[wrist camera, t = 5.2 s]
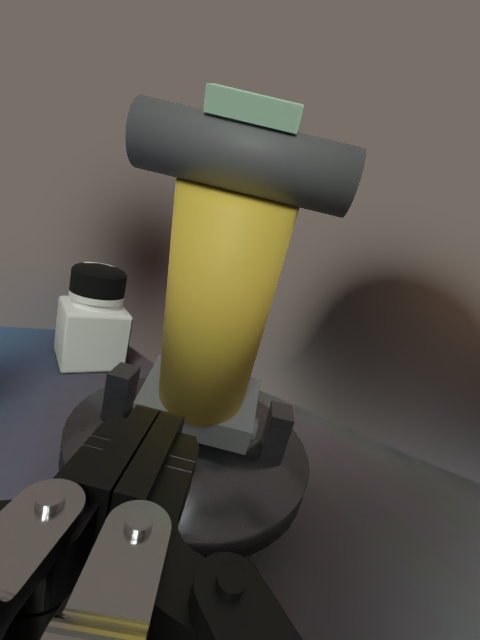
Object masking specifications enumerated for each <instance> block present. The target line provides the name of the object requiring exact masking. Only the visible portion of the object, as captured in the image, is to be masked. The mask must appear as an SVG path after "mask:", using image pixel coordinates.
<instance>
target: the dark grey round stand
mask: <svg viewBox="0 0 480 640" xmlns="http://www.w3.org/2000/svg"><path fill="white" fill-rule="evenodd" d="M140 368H141V367H139V366H135V365H131V364H127V363H123V362H120V363H119V364H118V365H117V366H115V367H114V368H113V369H112V370H111V371H110V372H109V373H108V374H107V377H106V383H105V388H103V389H101V390H99V391H97V392H95V393H93V394H92V395H90V396H88V397H87V398H86V399H85V400H83V401H82V402H81V403H80V404H79V405H78V406H77V407H76V408H75V409H74V410H73V411H72V413H71V414H70V416H69V417H68V419H67V421H66V424H65V426H64V429H63V435H62V443H61V451H60V460H59V471H60V470H61V469H62V468H63V467H64V465H65V464H66V463H67V462H68V461H69V460H70V458H71V457H72V456H73V455H74V454H75V453H76V452H77V450H78V449H79V448H80V447H81V446H83V444H84V442H85V441H86V440H87V439H88V438H89V437H90V436H91V435H92V433H93V432H94V431H95V430H96V429H97V427H98V426H99V425H100V424H101V423H103V422H105V421H107V420H109V419H111V418H112V417H114V416H118V417H121V418H125V419H126V418H127V417H128V416H129V414H130V413H131V412H132V410H133V402H134V401H135V399H136V397H137V395H138V393H139V391H140V390H141V388H142V386H143V384H144V382H145V380H146V378H139V374H140ZM255 417H256V418H259V421H258V427H257V432H256V436H255V439H254V442H249V445H248V448H247V451H246V454H245V455H243V454H239V453H235V452H231V451H227V450H223V449H220V448H216V447H212V446H208V445H204V444H200V443H198V445H199V453H198V457H197V461H196V465H195V470H194V474H193V478H192V482H191V487H190V491H189V494H188V497H187V500H186V504H185V507H184V510H183V513H182V516H181V520H180V523H179V527H178V529H179V532H180V534H181V536H182V538H183V540H184V541H185V542H186V543H187V544H188V545H189V546H190V547H191V548H192V549H193V550H195V551H196V552H198V553H199V554H201V555H202V556H204V557H205V558H206V557H207V556H209V555H211V554H214V553H217V552H232V553H235V554H238V555H241V556H242V557H245V556H248V555H251V554H254V553H256V552H257V551H259V550H261V549H263V548H265V547H267V546H269V545H270V544H271V543H273V542H274V541H275V540H277V539H278V538H279V537H280V536H281V535H282V534H283V533H284V532H285V531H286V530H287V529H288V528H289V527H290V525H291V523H292V522H293V520H294V519H295V517H296V515H297V512H298V509H299V507H300V504H301V501H302V498H303V495H304V492H305V489H306V486H307V483H308V478H309V462H308V458H307V454H306V451H305V449H304V447H303V444H302V442H301V441H300V439H299V438H298V436H297V434H296V433H295V432H294V431H293V429H292V428H293V424H294V416H293V409H292V405H288V404H284V403H280V402H276V401H271V405H270V408H268V407H266V406H265V405H263V404H262V403H260V402H258V401H257V408H256V414H255Z"/></svg>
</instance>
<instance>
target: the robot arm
mask: <svg viewBox="0 0 480 640" xmlns="http://www.w3.org/2000/svg"><path fill="white" fill-rule="evenodd" d="M184 419H185V416H182V415H178V414H174V413H170V412H166V411H161V410H158V409H154V408H150V407H146V406H142V405H136V406H135V408H134V409H133V410H132V412H131V413H130V414H129V416H128V417H127V418H126V419H125V418H121V417H118V416H114V417H112V418H111V419H109V420H107V421H105V422H103V423H101V424H100V425H99V426H98V427H97V429H96V430H95V431H94V432H93V433H92V435H91V436H90V437H89V438H88V439H87V440H86V441H85V442H84V444H83V446H81V447H80V448H79V449H78V450H77V452H76V453H75V454H74V455H73V456H72V457H71V458H70V460H69V461H68V462H67V463H66V464H65V465H64V467H63V468H62V469H61V470H60V471H59V472H58V473H57V475H56V476H55V477H54V478H53V479H47V480H43V481H40V482H37V483H34V484H32V485H30V486H29V487H27V488H25V489H24V490H23V491H22V492H20V493H19V494H18V495H17V496H16V497H15V498H14V499H13V500H3V501H0V640H302V638H301V637H300V635H299V634H298V632H297V631H296V629H295V627H294V626H293V624H292V623H291V621H290V620H289V618H288V617H287V615H286V613H285V612H284V610H283V609H282V607H281V606H280V604H279V603H278V601H277V599H276V598H275V596H274V595H273V593H272V592H271V590H270V589H269V587H268V585H267V584H266V582H265V581H264V579H263V578H262V576H261V575H260V573H259V571H258V570H257V569H256V567H255V566H254V565H253V564H252V563H251V562H250V561H248V560H247V559H246V558H244V557H242V556H241V555H238V554H235V553H232V552H217V553H214V554H211V555H209V556H207V557H206V558H205V557H204V556H202V555H201V554H199V553H198V552H196V551H195V550H193V549H192V548H191V547H190V546H189V545H188V544H187V543H186V542H185V541H184V540H183V538H182V536H181V534H180V532H179V529H178V527H179V523H180V520H181V516H182V513H183V510H184V507H185V504H186V500H187V497H188V494H189V491H190V487H191V482H192V478H193V474H194V470H195V465H196V461H197V457H198V453H199V445H198V442H197V438H196V436H192V435H188V434H184V433H182V429H183V425H184ZM73 588H74V590H73ZM72 591H73V592H72Z"/></svg>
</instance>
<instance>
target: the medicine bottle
mask: <svg viewBox="0 0 480 640" xmlns="http://www.w3.org/2000/svg"><path fill="white" fill-rule="evenodd" d="M126 281H127V275H126V274H125V272H124V271H122V270H120V269H119V268H117V267H114V266H111V265H107V264H102V263H96V262H82V263H78V264H75V265H74V266H73V267H72V269H71V277H70V288H69V296H60V297H59V302H58V312H57V323H56V331H55V341H54V350H55V353H56V357H57V361H58V365H59V369H60V372H61V373H91V372H110V371H111V370H112V369H113V368H114V367H115V366H117V365H118V364H119V363H120V362H123V363H126V358H127V352H128V346H129V339H130V333H131V327H132V320H133V318H132V317H131V315H130V314H129V313H128V312H127V311H126V309H125V308H124V307H123V306H122V304H123V301H124V294H125V288H126Z"/></svg>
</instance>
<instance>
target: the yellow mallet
mask: <svg viewBox="0 0 480 640" xmlns="http://www.w3.org/2000/svg"><path fill="white" fill-rule="evenodd" d="M303 107H304V105H303V104H299V103H294V102H290V101H286V100H282V99H278V98H274V97H270V96H265V95H261V94H257V93H253V92H248V91H244V90H240V89H236V88H232V87H227V86H223V85H219V84H215V83H207V84H206V92H205V101H204V109H199V108H195V107H191V106H186V105H182V104H178V103H174V102H170V101H165V100H161V99H157V98H153V97H149V96H144V95H138V96H137V97H136V98H135V99H134V100H133V102H132V104H131V107H130V110H129V113H128V118H127V124H126V150H127V155H128V158H129V161H130V163H131V164H132V166H134V167H136V168H140V169H144V170H148V171H152V172H157V173H161V174H165V175H169V176H173V177H177V179H176V184H175V196H174V209H173V220H172V233H171V245H170V257H169V269H168V281H167V294H166V306H165V318H164V330H163V342H162V354H161V355H159V356H158V358H157V360H156V362H155V364H154V366H153V367H152V369H151V371H150V373H149V375H148V377H147V378H146V380H145V382H144V384H143V386H142V388H141V390H140V391H139V393H138V395H137V397H136V399H135V401H134V402H133V409H134V408H135V406H136V405H142V406H146V407H150V408H154V409H158V410H161V411H166V412H170V413H174V414H178V415H182V416H185V419H184V425H183V429H182V433H184V434H188V435H192V436H196V438H197V442H198V443H200V444H204V445H208V446H212V447H216V448H220V449H223V450H227V451H231V452H235V453H239V454H243V455H245V454H246V451H247V448H248V445H249V442H254V439H255V436H256V432H257V427H258V421H259V418H256V417H255V414H256V408H257V401H258V395H259V388H260V382H261V380H258V379H254V378H250V376H251V373H252V369H253V365H254V362H255V359H256V355H257V352H258V348H259V345H260V342H261V338H262V334H263V331H264V328H265V324H266V321H267V317H268V314H269V311H270V307H271V304H272V300H273V297H274V293H275V290H276V286H277V283H278V280H279V276H280V273H281V269H282V266H283V262H284V259H285V255H286V252H287V249H288V245H289V242H290V238H291V235H292V231H293V228H294V224H295V221H296V218H297V214H298V211H299V207H300V208H304V209H308V210H312V211H317V212H321V213H325V214H329V215H333V216H337V217H344V216H345V215H346V213H347V211H348V209H349V208H350V206H351V203H352V201H353V199H354V196H355V194H356V191H357V188H358V185H359V182H360V179H361V176H362V172H363V168H364V164H365V158H366V149H365V148H362V147H357V146H354V145H349V144H345V143H341V142H337V141H333V140H329V139H324V138H320V137H315V136H312V135H307V134H303V133H299V132H297V131H298V127H299V123H300V119H301V115H302V111H303Z"/></svg>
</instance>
